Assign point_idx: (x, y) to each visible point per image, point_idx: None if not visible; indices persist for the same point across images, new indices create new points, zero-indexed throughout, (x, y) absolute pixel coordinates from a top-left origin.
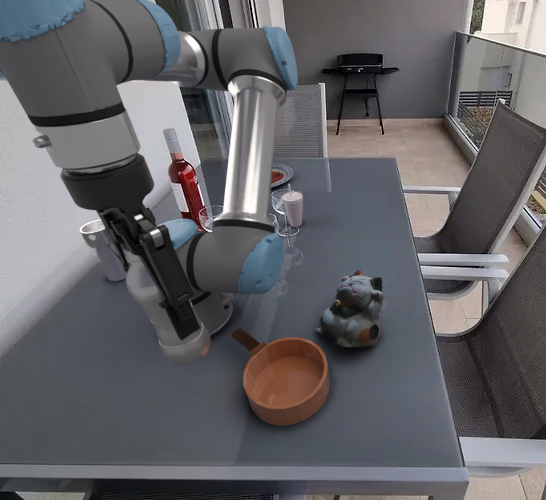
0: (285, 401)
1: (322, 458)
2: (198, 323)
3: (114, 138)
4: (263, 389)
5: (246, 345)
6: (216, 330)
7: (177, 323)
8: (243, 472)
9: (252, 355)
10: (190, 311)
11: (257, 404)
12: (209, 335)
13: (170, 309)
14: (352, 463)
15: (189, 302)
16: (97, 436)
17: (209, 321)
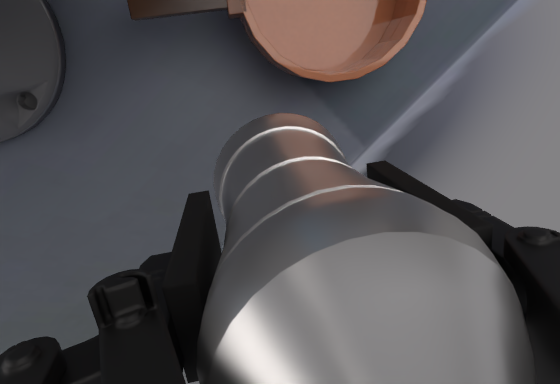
0: (343, 20)
1: (464, 37)
2: (335, 150)
3: None
4: (289, 38)
5: (200, 7)
6: (56, 33)
7: None
8: (385, 143)
9: (239, 14)
10: (479, 210)
11: (358, 77)
12: (310, 119)
13: None
14: (506, 5)
15: (450, 200)
16: None
17: (32, 38)
